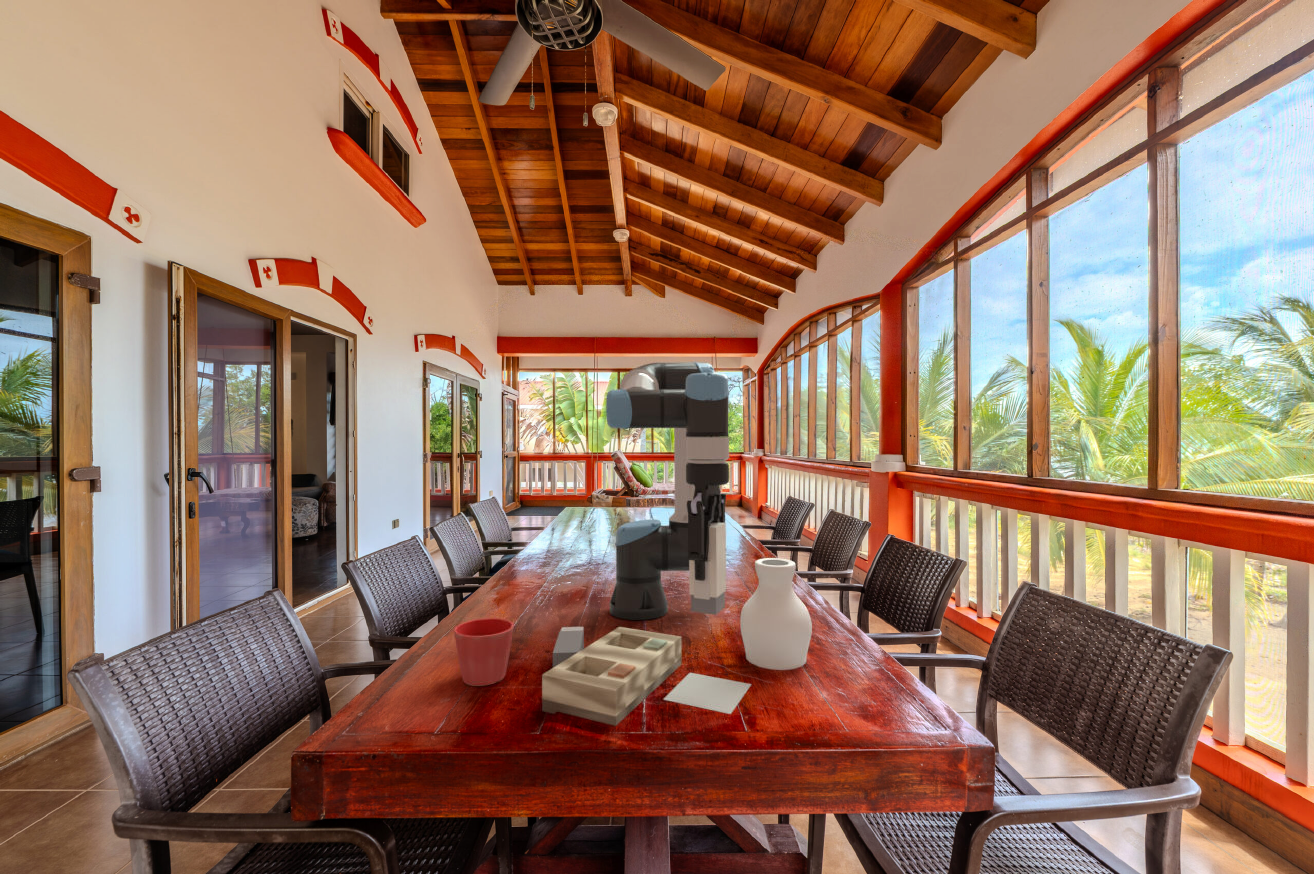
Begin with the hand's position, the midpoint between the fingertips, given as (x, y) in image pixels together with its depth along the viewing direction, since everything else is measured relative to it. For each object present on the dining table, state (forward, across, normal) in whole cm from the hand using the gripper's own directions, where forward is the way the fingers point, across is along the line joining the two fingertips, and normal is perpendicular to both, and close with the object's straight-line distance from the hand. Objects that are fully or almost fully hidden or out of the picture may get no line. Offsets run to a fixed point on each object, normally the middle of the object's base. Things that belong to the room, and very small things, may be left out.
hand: (707, 593), depth 99 cm
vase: (+18, -20, +7) cm, 28 cm away
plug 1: (+18, -1, -30) cm, 35 cm away
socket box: (+18, +4, -16) cm, 24 cm away
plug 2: (+3, 0, 0) cm, 3 cm away
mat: (+18, 0, 0) cm, 18 cm away
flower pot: (+18, +11, -41) cm, 46 cm away
